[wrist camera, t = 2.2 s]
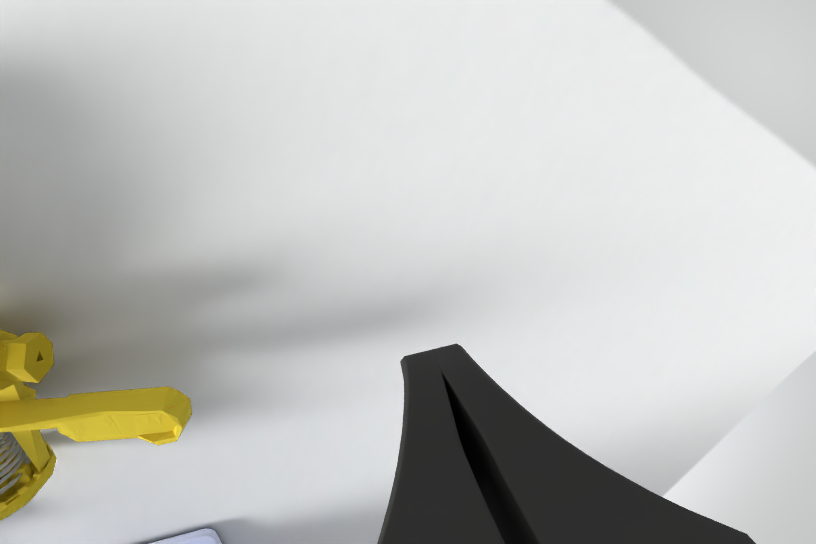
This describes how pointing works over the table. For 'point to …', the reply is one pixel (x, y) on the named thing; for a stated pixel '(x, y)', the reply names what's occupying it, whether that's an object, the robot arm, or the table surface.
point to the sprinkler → (67, 417)
